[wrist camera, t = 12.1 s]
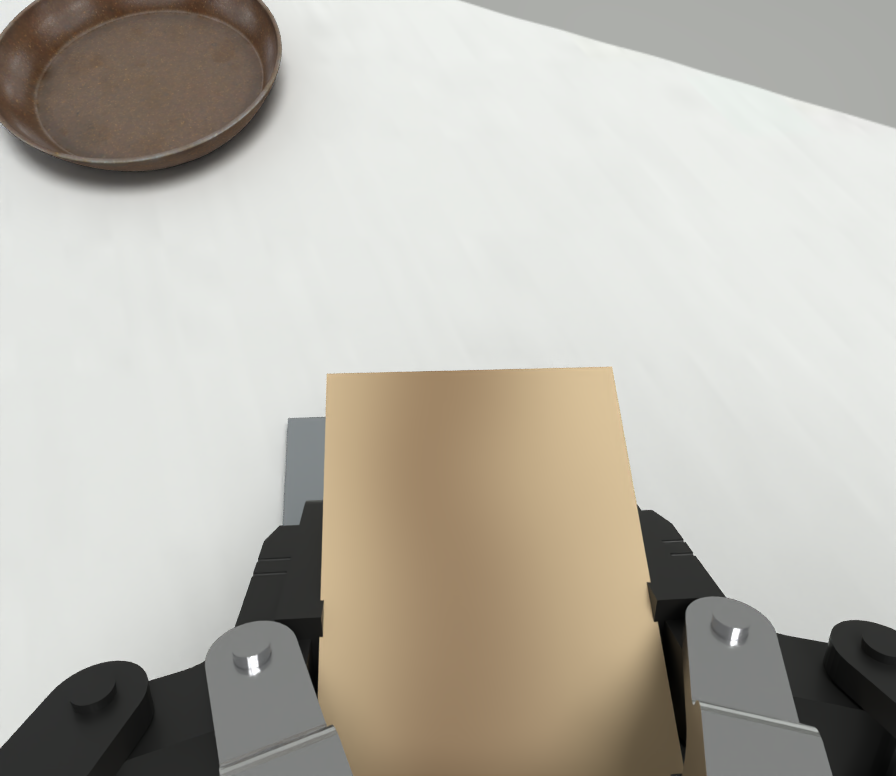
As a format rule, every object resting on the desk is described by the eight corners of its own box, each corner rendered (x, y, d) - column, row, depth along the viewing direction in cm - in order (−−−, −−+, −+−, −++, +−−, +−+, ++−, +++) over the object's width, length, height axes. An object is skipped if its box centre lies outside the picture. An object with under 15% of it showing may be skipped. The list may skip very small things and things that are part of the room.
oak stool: (525, 495, 20) (611, 366, 11) (556, 786, 17) (709, 910, 8) (363, 501, 20) (326, 373, 11) (362, 800, 16) (310, 946, 8)
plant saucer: (-48, 105, 40) (-83, 63, 37) (162, -29, 46) (145, -73, 43) (145, 246, 36) (122, 211, 33) (345, 80, 42) (339, 39, 39)
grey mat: (639, 952, 24) (648, 963, 23) (265, 988, 23) (259, 1002, 22) (562, 415, 33) (566, 407, 32) (291, 425, 32) (287, 418, 31)
